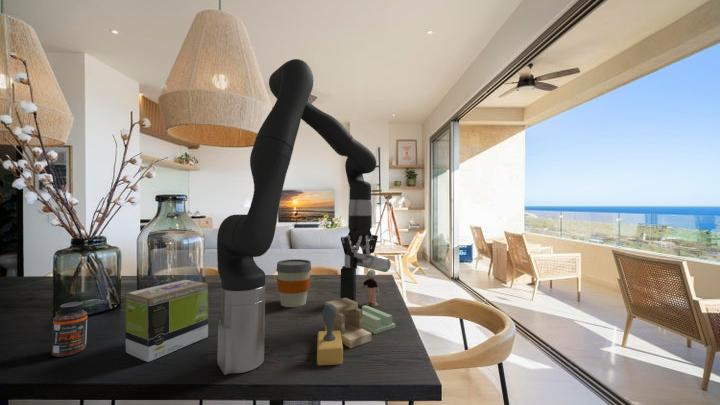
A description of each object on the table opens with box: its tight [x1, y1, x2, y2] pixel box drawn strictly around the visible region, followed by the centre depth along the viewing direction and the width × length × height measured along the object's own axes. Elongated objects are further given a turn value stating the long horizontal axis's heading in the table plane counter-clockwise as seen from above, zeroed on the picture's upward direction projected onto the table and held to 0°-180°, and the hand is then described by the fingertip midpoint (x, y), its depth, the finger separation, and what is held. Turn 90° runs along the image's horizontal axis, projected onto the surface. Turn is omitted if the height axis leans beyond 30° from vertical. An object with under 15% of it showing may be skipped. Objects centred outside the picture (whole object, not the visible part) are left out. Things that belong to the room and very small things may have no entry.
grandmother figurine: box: [362, 269, 380, 307], centre depth 109 cm, size 8×4×13 cm, turn 58°
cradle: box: [361, 304, 397, 335], centre depth 91 cm, size 8×13×4 cm, turn 39°
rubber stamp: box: [316, 304, 344, 366], centre depth 72 cm, size 10×6×12 cm, turn 7°
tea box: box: [124, 279, 209, 363], centre depth 75 cm, size 15×10×15 cm, turn 152°
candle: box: [339, 241, 357, 302], centre depth 110 cm, size 5×5×25 cm
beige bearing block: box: [324, 298, 373, 349], centre depth 81 cm, size 7×12×8 cm, turn 39°
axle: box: [356, 252, 392, 273], centre depth 92 cm, size 14×4×4 cm, turn 39°
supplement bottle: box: [51, 301, 88, 358], centre depth 71 cm, size 6×6×11 cm
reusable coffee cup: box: [276, 258, 312, 308], centre depth 110 cm, size 13×13×15 cm
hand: (359, 267), depth 95 cm, fingers closed on axle, 4 cm apart
